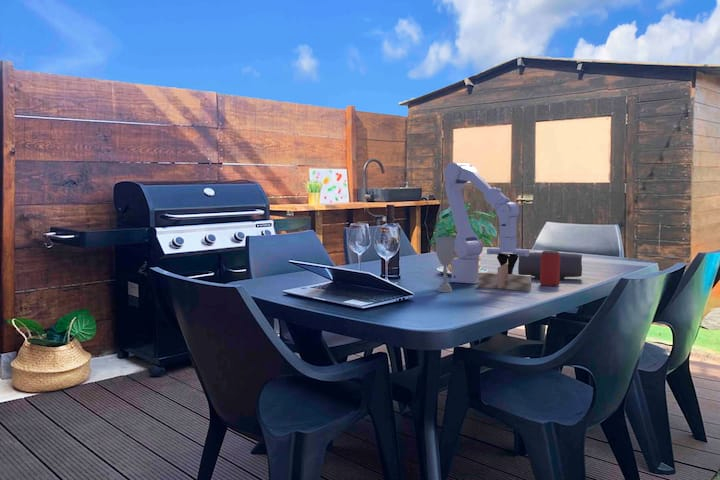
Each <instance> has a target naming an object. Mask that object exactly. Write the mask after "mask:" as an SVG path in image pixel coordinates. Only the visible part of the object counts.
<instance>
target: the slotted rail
mask: <svg viewBox="0 0 720 480" xmlns="http://www.w3.org/2000/svg"><path fill="white" fill-rule="evenodd" d="M477 285H478V288H488V289H500V290H501V289H502V290H513V291H515V290H516V291H525V292H526V291H527V292H530V291H532V276H531V275H519V274H514V273H512V274H508V281H505V286H504V287H503V288H498V272H485V271H480V272H479V273H478V283H477Z"/></svg>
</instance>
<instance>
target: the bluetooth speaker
mask: <svg viewBox="0 0 720 480" xmlns="http://www.w3.org/2000/svg"><path fill="white" fill-rule="evenodd" d="M542 253H543V252H542V251H541V252H537V251H536V252H529V256H519V257H518V266H517V268H518V269H517V270H518V272H517V273H518V275H531V277H534V279H539V280H540V268H541V255H542ZM559 255H560V280H564V279H565V278H579V277H580V278H581V277H582V275H583V265H582V264H583V263H582V262H583V261H582V259H583V254H579V253H569V252H567V253H565V252H559Z"/></svg>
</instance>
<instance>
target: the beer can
mask: <svg viewBox="0 0 720 480" xmlns="http://www.w3.org/2000/svg"><path fill="white" fill-rule="evenodd" d="M541 252H543V253H542V255H541V268H540V279H539V284H540V285H541V286H543V287H558V286H560V282H561V281H560V280H561V279H560V255H559V253H560V252H559V251H558V250H542V251H541Z"/></svg>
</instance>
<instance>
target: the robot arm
mask: <svg viewBox="0 0 720 480" xmlns="http://www.w3.org/2000/svg"><path fill="white" fill-rule="evenodd" d="M443 175H444V177H445V195H446V197H447V201H448V205H449V208H450V209H449V210H450V212H451V215H452V219H453V223H454V226H455V230H456V236H455V238H456V239H455V252H454V254H455V255H456V256H457V257H453V258H452V260H451V280H450V282H451V283H462V284H463V283H465V284H478V273H479V265H480V264H479V261H480V260H479V259H480V255H481V254H482V253H483V250H484V247H483V243H482V241H481V240H480V239H479V236H478V234H477V233H476V232H474V231H473V229H472V225H471V222H470V218H469V214H468V211H467V208H466V204H465V201H464V197H463V193H462V190H463V188H464V186H465V185H466V184H468V182H469V183H470V184H472V185H473V186H474V187H475V188H477V190H479V191H480V192H481V193H482V194H483V196H484V200H485V201H486V202H487V204H489V205H490V206H491V207H492V208H493V209H494V210H495V213H496V216H497V218H498V222H499V237H498V238H499V243H498V245H499V248H486V255H497V257H496V258H497V260H498V262H499V266H502V265H504V264H505V263H507V262H508V274H513V272H514V269H515V265H516V263H517V261H518V260H519V256H529V253H530V250H529V249H518V248H517V218H518V217H519V215H520V213H521V208H520V205H519V204H518V202H515V201H511V199H510V198H509V197H507V196H506V195H505V194H504V193H503V192H502V189H501V188H497V187H492V186H491V185H490V184H489V183H488V182H487V180H485V178H483V177H482V176H481V174H480V173H479V172H478V171H477V169H476V167H475V166H473V165H472V164H471V163H470V162H465V163H462V162H450V163H448V164H447V166H446V167H445V170H444V171H443Z"/></svg>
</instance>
